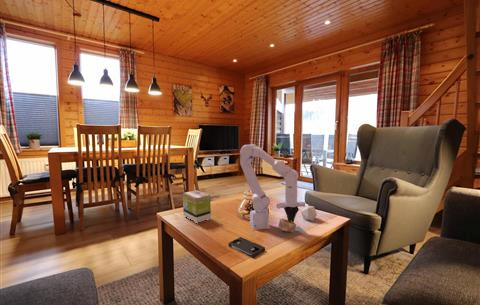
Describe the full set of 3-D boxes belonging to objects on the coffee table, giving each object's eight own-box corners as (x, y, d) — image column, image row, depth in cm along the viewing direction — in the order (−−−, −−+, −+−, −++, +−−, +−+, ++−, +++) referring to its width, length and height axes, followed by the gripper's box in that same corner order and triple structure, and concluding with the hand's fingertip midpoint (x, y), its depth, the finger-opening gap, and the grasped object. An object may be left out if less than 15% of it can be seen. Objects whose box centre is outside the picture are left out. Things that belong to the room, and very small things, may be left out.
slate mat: (280, 237, 109) (280, 236, 109) (273, 229, 118) (273, 228, 117) (307, 234, 112) (307, 233, 112) (299, 226, 120) (299, 226, 120)
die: (309, 225, 124) (320, 211, 124) (296, 214, 129) (306, 200, 128) (311, 225, 132) (321, 211, 131) (298, 215, 136) (308, 202, 136)
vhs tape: (228, 247, 101) (228, 242, 101) (240, 241, 106) (240, 236, 106) (252, 259, 91) (252, 254, 91) (264, 251, 97) (265, 247, 97)
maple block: (293, 232, 113) (281, 229, 111) (290, 229, 117) (278, 226, 115) (296, 224, 113) (283, 221, 111) (293, 221, 117) (280, 218, 115)
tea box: (182, 216, 136) (182, 192, 135) (197, 212, 143) (196, 189, 142) (196, 224, 125) (195, 197, 124) (211, 219, 132) (211, 194, 130)
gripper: (280, 197, 108) (280, 225, 109) (308, 195, 111) (308, 223, 112) (275, 193, 114) (274, 220, 116) (301, 192, 118) (301, 217, 119)
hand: (290, 221), depth 114 cm, fingers closed
